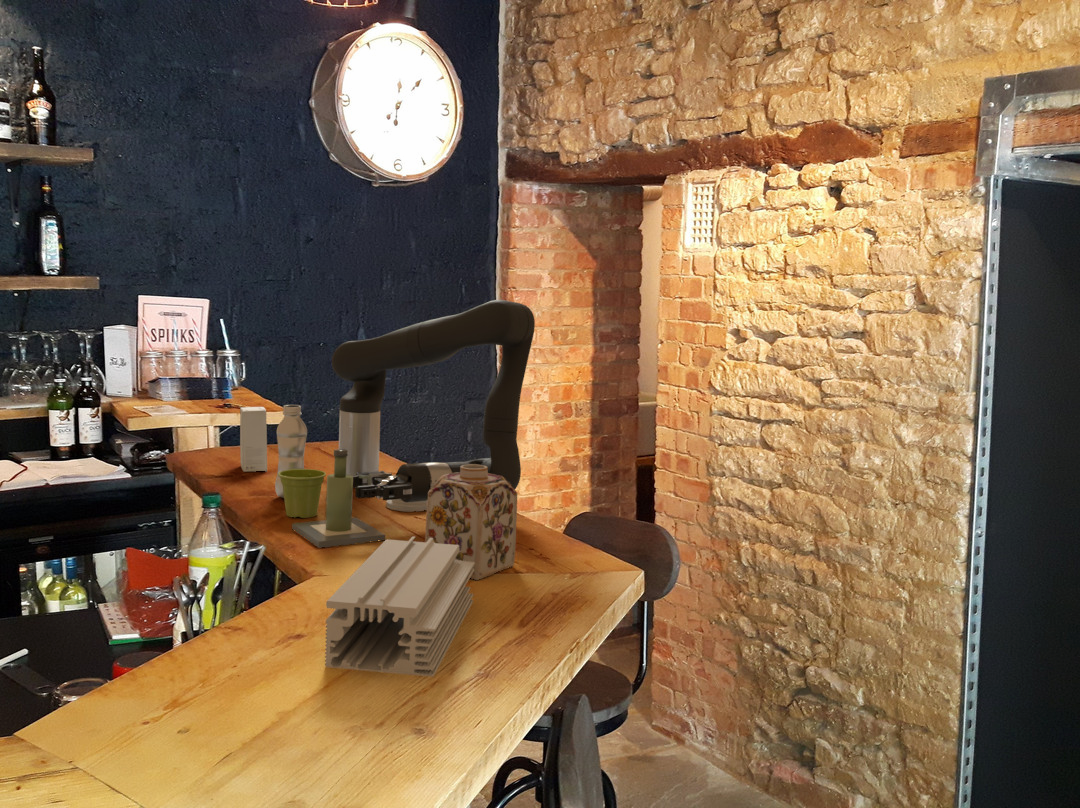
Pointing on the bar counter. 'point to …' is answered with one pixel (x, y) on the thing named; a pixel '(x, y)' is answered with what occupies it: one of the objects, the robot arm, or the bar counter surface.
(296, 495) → the plant pot
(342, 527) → the bitters bottle
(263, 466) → the skincare box
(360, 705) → the bar counter surface
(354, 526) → the board
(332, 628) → the aluminum extrusion profile
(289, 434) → the plastic bottle
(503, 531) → the decorative jar
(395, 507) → the mechanical component
